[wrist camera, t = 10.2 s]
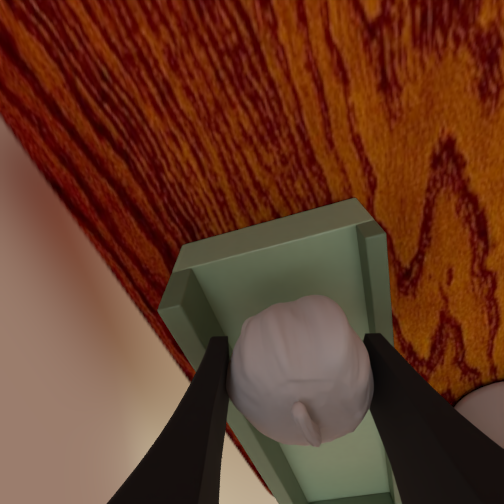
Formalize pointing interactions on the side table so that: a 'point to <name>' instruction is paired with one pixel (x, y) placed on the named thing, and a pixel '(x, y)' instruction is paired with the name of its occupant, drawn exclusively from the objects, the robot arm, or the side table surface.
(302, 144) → the side table surface
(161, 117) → the side table surface
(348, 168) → the side table surface
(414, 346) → the side table surface
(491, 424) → the coffee cup
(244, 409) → the garlic
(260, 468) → the tray
